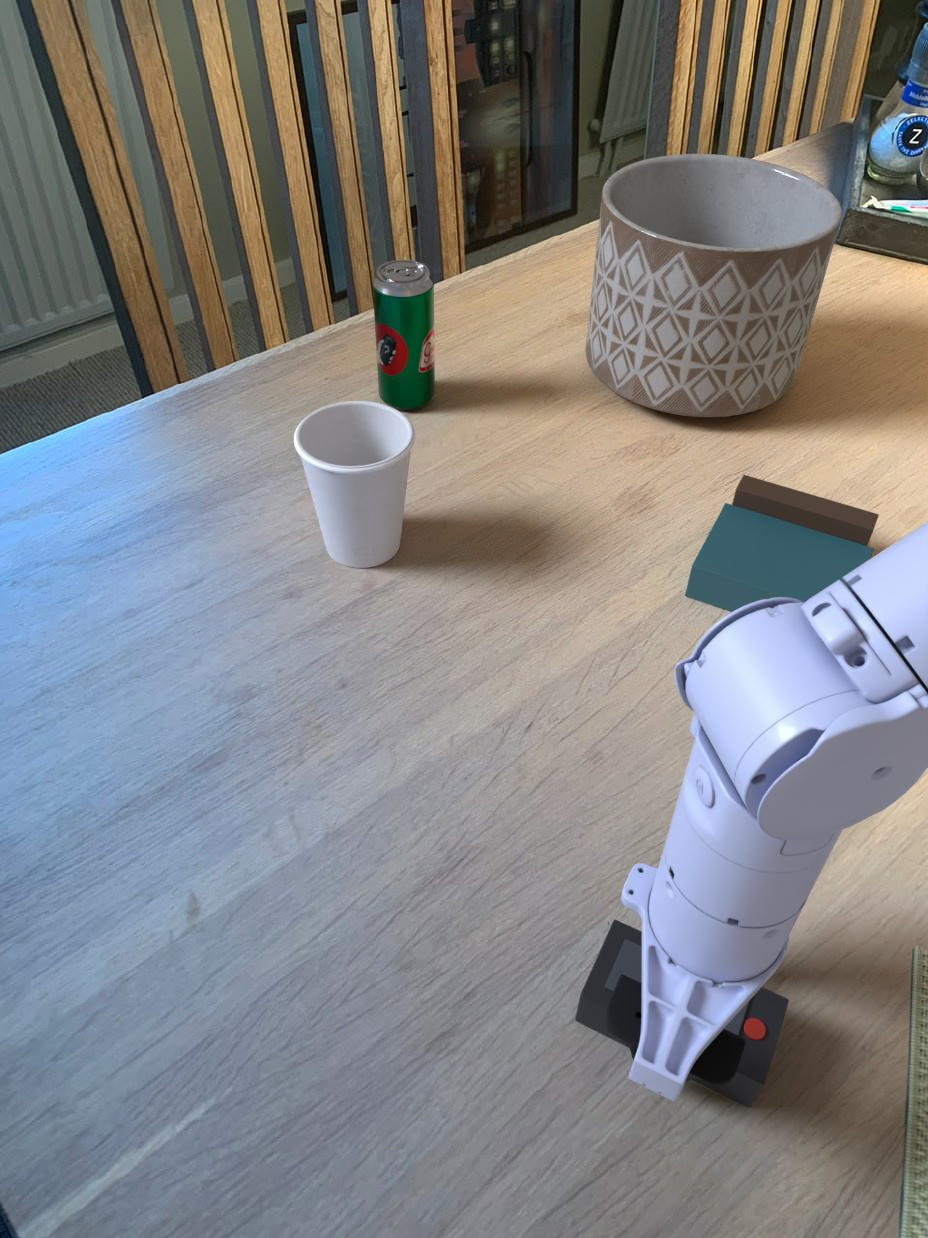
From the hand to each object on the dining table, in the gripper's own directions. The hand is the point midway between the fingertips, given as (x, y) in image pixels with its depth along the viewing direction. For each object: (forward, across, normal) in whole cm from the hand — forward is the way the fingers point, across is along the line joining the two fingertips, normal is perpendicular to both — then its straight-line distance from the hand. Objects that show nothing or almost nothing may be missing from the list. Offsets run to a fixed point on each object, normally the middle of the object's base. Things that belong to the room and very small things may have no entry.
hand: (680, 1009), depth 49 cm
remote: (+2, 0, 0) cm, 2 cm away
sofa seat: (+2, -34, -4) cm, 34 cm away
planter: (+2, -59, -19) cm, 62 cm away
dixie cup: (+2, -24, -33) cm, 41 cm away
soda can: (+2, -43, -40) cm, 59 cm away
